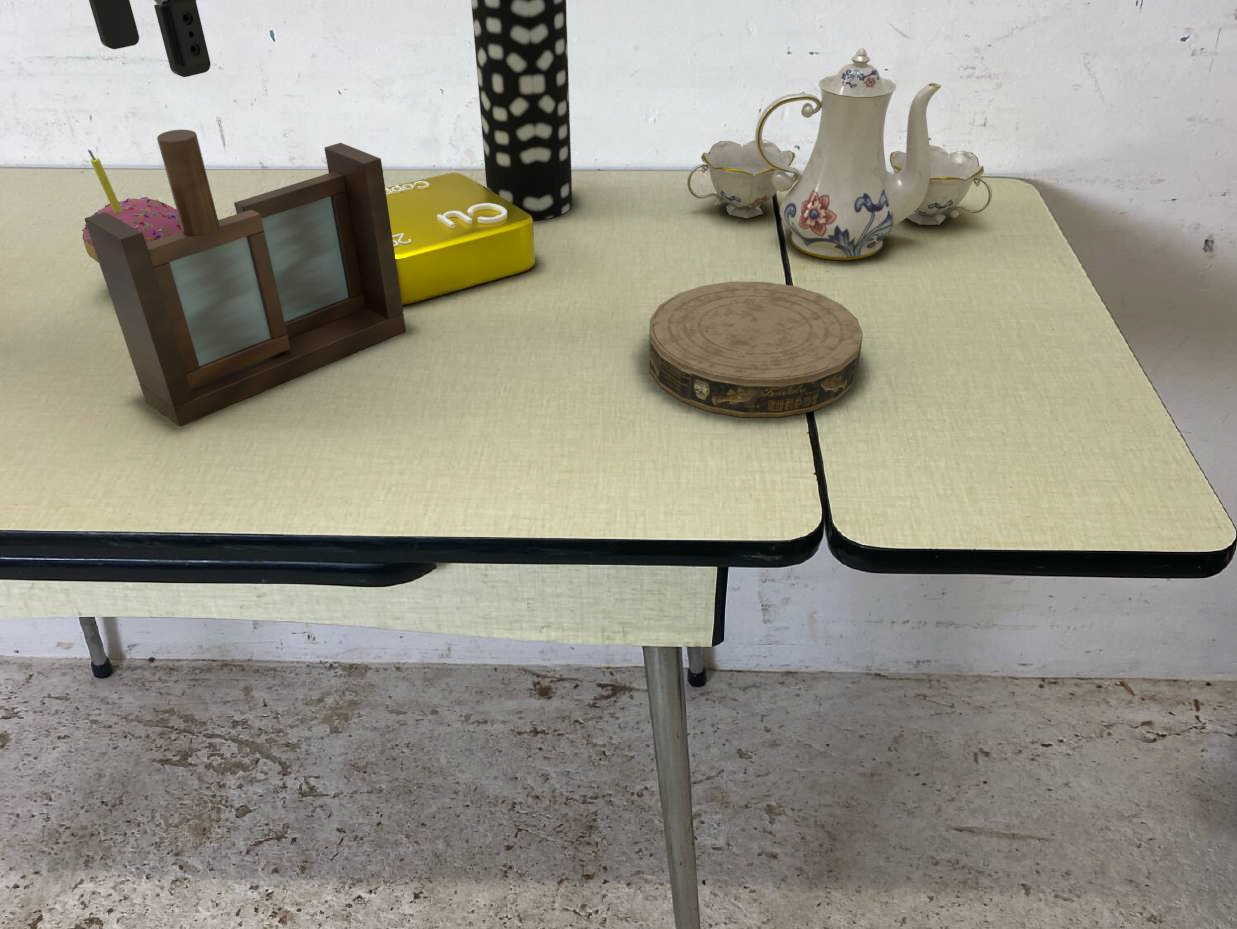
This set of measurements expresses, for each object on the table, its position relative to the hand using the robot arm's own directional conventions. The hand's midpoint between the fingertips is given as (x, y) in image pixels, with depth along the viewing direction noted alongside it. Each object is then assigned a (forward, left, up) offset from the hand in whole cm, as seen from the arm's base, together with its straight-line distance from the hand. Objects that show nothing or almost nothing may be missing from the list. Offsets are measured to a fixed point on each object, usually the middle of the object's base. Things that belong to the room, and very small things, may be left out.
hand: (156, 59), depth 66 cm
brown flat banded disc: (+29, -25, -23) cm, 44 cm away
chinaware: (+55, -14, -23) cm, 61 cm away
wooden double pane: (+4, +1, -22) cm, 23 cm away
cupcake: (+4, +21, -23) cm, 31 cm away
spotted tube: (+39, +11, -23) cm, 46 cm away
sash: (0, 0, -21) cm, 21 cm away
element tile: (+24, +8, -23) cm, 34 cm away
